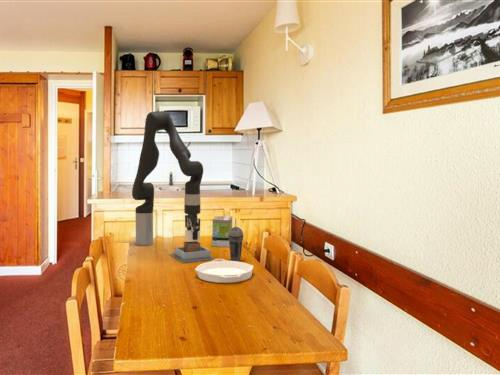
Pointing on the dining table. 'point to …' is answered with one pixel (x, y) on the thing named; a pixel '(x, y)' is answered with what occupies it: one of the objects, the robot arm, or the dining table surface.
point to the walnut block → (191, 246)
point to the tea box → (221, 231)
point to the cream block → (191, 236)
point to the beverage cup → (235, 243)
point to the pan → (224, 271)
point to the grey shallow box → (192, 255)
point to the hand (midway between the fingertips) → (192, 238)
